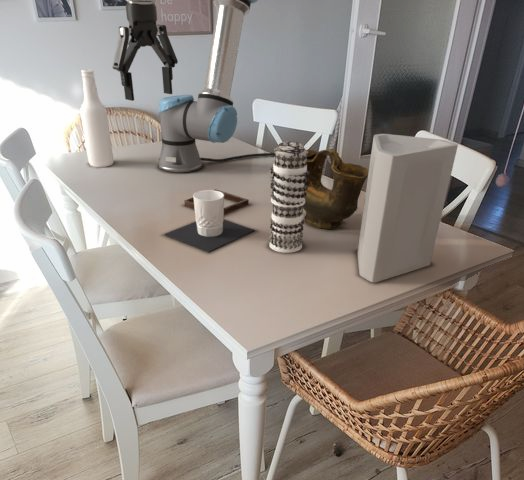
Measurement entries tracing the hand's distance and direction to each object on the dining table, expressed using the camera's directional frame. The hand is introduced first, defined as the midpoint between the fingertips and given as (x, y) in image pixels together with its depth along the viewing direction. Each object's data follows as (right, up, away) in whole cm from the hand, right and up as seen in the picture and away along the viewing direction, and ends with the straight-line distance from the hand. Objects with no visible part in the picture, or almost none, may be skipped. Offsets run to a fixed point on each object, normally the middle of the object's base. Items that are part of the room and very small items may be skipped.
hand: (149, 96), depth 141 cm
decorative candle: (+37, -43, -8) cm, 57 cm away
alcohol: (-27, -2, +45) cm, 53 cm away
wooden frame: (+17, -26, +14) cm, 34 cm away
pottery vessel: (+48, -33, +6) cm, 58 cm away
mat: (+17, -38, -3) cm, 42 cm away
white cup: (+17, -38, -3) cm, 42 cm away
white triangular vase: (+60, -48, -14) cm, 78 cm away
